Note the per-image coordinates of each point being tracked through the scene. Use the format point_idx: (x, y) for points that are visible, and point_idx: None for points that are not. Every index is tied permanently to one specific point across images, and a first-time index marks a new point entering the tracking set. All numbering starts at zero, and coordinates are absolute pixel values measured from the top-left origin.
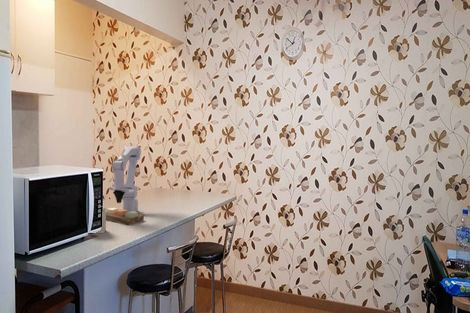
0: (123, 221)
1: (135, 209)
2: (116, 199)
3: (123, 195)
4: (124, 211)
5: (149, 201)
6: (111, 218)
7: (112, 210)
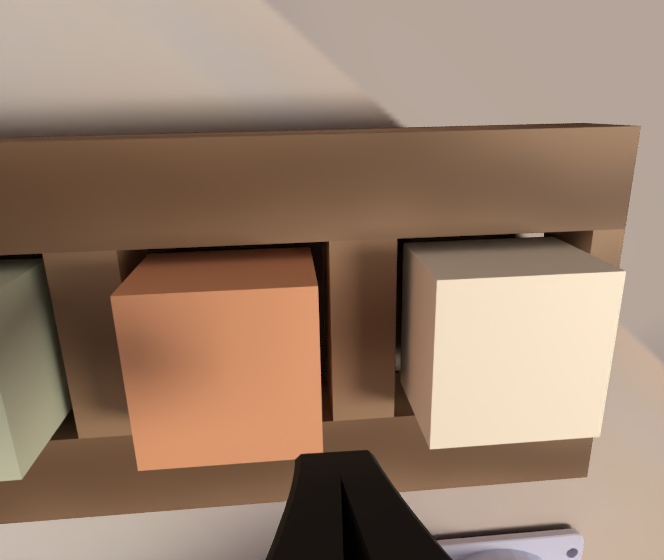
0: None
1: None
2: (393, 519)
3: None
4: (123, 376)
5: None
6: (296, 133)
7: (433, 285)
